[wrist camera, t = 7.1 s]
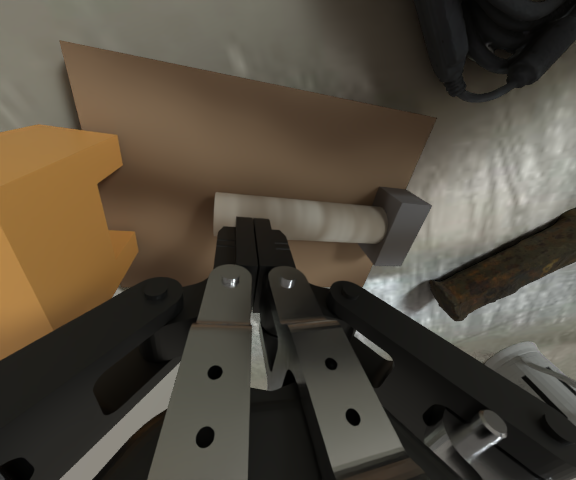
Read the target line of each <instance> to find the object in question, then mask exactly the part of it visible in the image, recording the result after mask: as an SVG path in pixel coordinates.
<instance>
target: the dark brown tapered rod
mask: <svg viewBox="0 0 576 480" xmlns="http://www.w3.org/2000/svg"><path fill="white" fill-rule="evenodd" d="M574 262H576V208H574V209H571V210H569V211H567V212H565V213H563V214H562V215H561V216H560V217H559V219H558V221H557V222H556V224H554V225H553V226H551V227H549V228H547V229H545V230H543V231H542V232H540V233H537V234H535V235H533V236H531V237H529V238H527V239H524V240H521V241H520V242H519V243H518V244H517V245H514V246H512V247H510V248H508V249H506V250H504V251H502V252H499V253H498V254H496V255H494V256H491V257H490V258H487V259H485V260H483V261H481V262H479V263H477V264H475V265H473V266H471V267H469V268H467V269H464V270H462V271H461V272H458V273H456V274H454V275H453V276H452V277H450V278H448V279H446V280H443V281H441V282H438V281H434V280H430V281H429V283H430V286H431V287H430V288H431V291H432V294H433V295H434V297H435V299H436V300H437V302H438V303H439V306H440V307H441V308H442V309H443V310H444V311H445V312H446V313H447V314H448V315H449V316H450V317H451V318H452V319H453V320H454V321H462V320H464V319H465V318H466V317H467V315H468V314H469V313H471V312H473V311H474V310H476V309H478V308H480V307H482V306H485V305H486V304H489V303H492V302H495V301H496V300H498V299H501V298H504V297H506V296H509V295H511V294H513V293H515V292H516V291H517V290H518V289H519V288H521V287H523V286H525V285H527V284H529V283H531V282H533V281H535V280H538V279H540V278H542V277H544V276H546V275H547V274H550V273H552V272H554V271H556V270H558V269H560V268H563V267H565V266H567V265H570V264H572V263H574Z"/></svg>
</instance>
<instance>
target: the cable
mask: <svg viewBox="0 0 576 480" xmlns="http://www.w3.org/2000/svg"><path fill="white" fill-rule="evenodd" d="M414 3H415V6H416V10H417V14H418V17H419V21H420V25H421V28H422V32H423V35H424V39H425V43H426V46H427V50H428V54H429V58H430V61H431V64H432V67H433V70H434V72H435V74H436V75H437V77H438V78H439V80H440V82H444V86H445V87H446V91H448V93H449V94H450V95H451V96H452V97H455V96H457V97H459V98H460V99H462V100H464V101H467V102H486V101H490V100H493V99H496V98H498V97H501V96H502V95H504V94H506V93H507V92H509V91H510V90H512V89H513V88H521V87H523V86H525V85H530V84H532V83H534V82H536V81H537V80H538V79H539V78H540V77H541V76H542V75H543V74H544V73H545V72H546V71H547V70H548V69H549V68H550V67H551V65H552V64H554V63H555V61H556V60H557V59H558V58H559V57H560V56H561V55H562V54H563V53H564V52H565V51H566V50H567V49H568V47H569V46H570V45H571V44H572V43H573V42H574V41H575V40H576V0H546V1H544V2H532V1H530V0H414ZM495 49H503V50H505V51H507V52H509V53H512V54H513V55H511V56H510V57H509V58H508V59H507V60H506V59H502V58H499V57H497V56H496V55H495V54H494V51H495ZM466 56H467V57H468V58H470V59H471V60H472V61H475V62H476V63H477V64H478V65H480V66H481V67H483V68H484V69H486V70H488V71H490V72H493V73H499V74H507V76H508V77H507V79H506V82H507V84H506V85H504V86H502V87H500V88H498V89H496V90H494V91H492V92H489V93H484V94H475V93H470V92H468V91H466V90H465V88H466V84H465V81H464V80H463V76H462V73H463V68H464V64H465V60H466Z"/></svg>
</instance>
